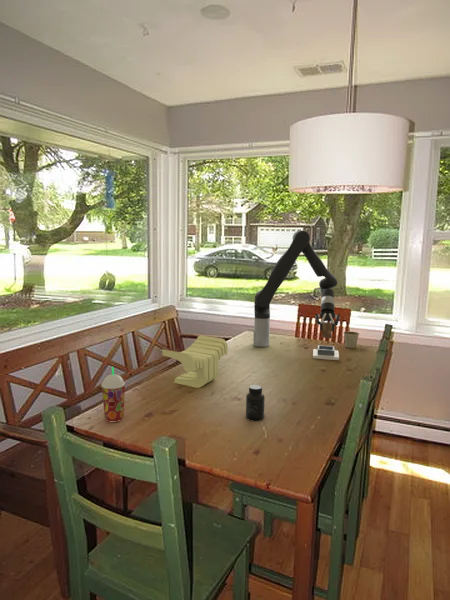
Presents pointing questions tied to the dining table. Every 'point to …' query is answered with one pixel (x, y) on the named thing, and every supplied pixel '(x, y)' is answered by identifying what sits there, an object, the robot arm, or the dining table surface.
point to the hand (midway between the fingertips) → (327, 330)
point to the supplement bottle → (255, 403)
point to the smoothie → (113, 396)
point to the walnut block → (327, 330)
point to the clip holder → (325, 353)
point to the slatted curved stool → (199, 360)
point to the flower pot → (351, 339)
